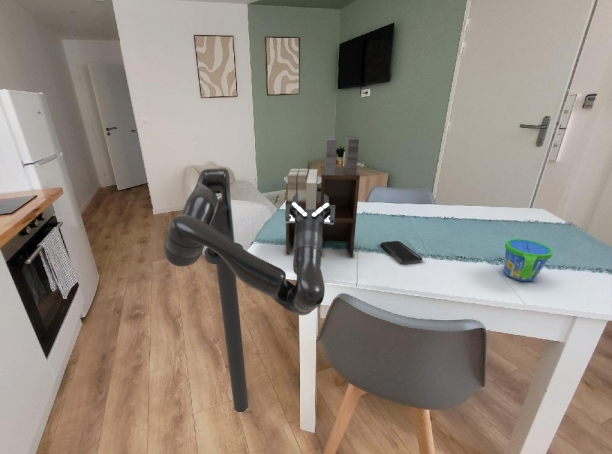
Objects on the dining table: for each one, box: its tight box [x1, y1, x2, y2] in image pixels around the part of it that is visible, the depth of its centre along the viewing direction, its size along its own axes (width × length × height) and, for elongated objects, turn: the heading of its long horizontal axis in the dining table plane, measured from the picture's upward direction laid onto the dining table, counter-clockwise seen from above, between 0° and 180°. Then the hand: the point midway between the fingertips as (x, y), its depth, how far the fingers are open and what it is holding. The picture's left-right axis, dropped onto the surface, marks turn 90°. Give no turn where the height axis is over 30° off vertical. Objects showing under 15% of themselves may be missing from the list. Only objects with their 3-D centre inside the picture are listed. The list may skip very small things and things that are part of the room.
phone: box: [380, 240, 423, 265], centre depth 105 cm, size 8×1×15 cm
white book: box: [306, 168, 319, 210], centre depth 99 cm, size 20×3×9 cm, turn 169°
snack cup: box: [503, 238, 554, 282], centre depth 87 cm, size 16×10×10 cm
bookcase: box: [285, 134, 361, 259], centre depth 104 cm, size 14×24×41 cm, turn 79°
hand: (310, 195), depth 88 cm, fingers open, 8 cm apart
